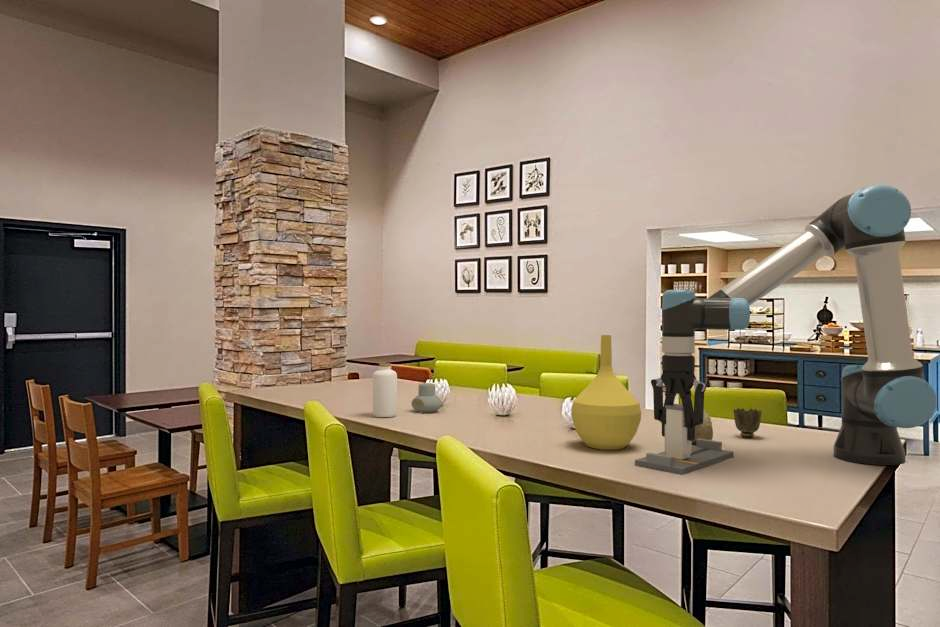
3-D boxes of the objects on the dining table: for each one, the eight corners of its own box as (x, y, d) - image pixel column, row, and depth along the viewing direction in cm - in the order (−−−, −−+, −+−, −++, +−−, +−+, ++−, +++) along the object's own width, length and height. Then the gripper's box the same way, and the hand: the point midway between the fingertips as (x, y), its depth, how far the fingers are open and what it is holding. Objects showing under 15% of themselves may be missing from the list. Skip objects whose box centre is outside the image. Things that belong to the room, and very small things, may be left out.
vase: (557, 446, 173) (558, 335, 173) (594, 436, 187) (595, 333, 187) (618, 457, 161) (619, 337, 161) (653, 446, 174) (653, 335, 174)
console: (688, 448, 170) (688, 436, 170) (733, 456, 162) (733, 443, 162) (634, 465, 152) (634, 451, 152) (682, 474, 144) (682, 460, 144)
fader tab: (674, 454, 158) (674, 403, 158) (691, 456, 154) (691, 405, 154) (664, 456, 155) (665, 405, 155) (682, 459, 151) (682, 407, 151)
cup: (733, 438, 184) (733, 410, 184) (733, 434, 191) (733, 407, 191) (762, 440, 182) (762, 412, 181) (760, 436, 188) (761, 408, 188)
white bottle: (395, 418, 217) (395, 364, 217) (370, 418, 218) (370, 364, 217) (398, 414, 226) (398, 362, 226) (374, 414, 226) (374, 362, 226)
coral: (727, 421, 174) (693, 405, 174) (710, 454, 175) (677, 439, 174) (714, 412, 183) (682, 398, 183) (699, 444, 184) (667, 430, 184)
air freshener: (408, 411, 233) (408, 383, 233) (426, 409, 239) (426, 381, 239) (427, 414, 225) (427, 386, 225) (445, 412, 231) (445, 384, 231)
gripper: (720, 355, 151) (720, 455, 151) (654, 352, 163) (654, 444, 163) (704, 357, 146) (704, 460, 146) (638, 353, 158) (638, 449, 158)
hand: (678, 452), depth 155 cm, fingers closed on fader tab, 4 cm apart
